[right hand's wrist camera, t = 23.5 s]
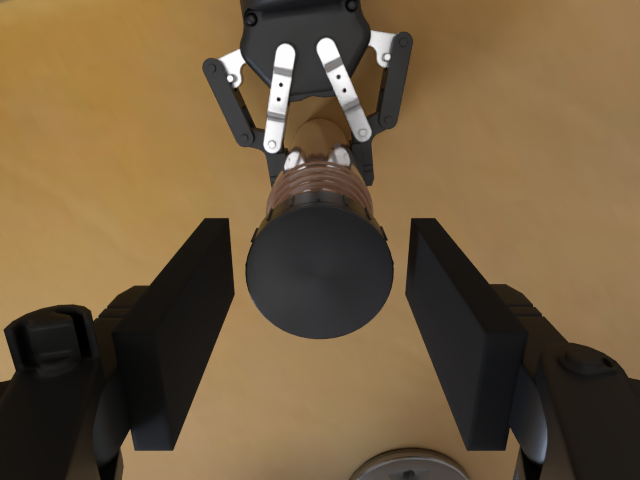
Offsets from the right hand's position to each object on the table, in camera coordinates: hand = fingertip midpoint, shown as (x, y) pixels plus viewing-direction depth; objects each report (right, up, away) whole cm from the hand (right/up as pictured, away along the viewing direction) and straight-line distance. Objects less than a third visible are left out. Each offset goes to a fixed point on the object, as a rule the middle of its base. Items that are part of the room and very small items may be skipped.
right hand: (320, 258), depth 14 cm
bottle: (0, +9, +23) cm, 25 cm away
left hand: (0, +4, +18) cm, 18 cm away
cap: (0, 0, -1) cm, 1 cm away
